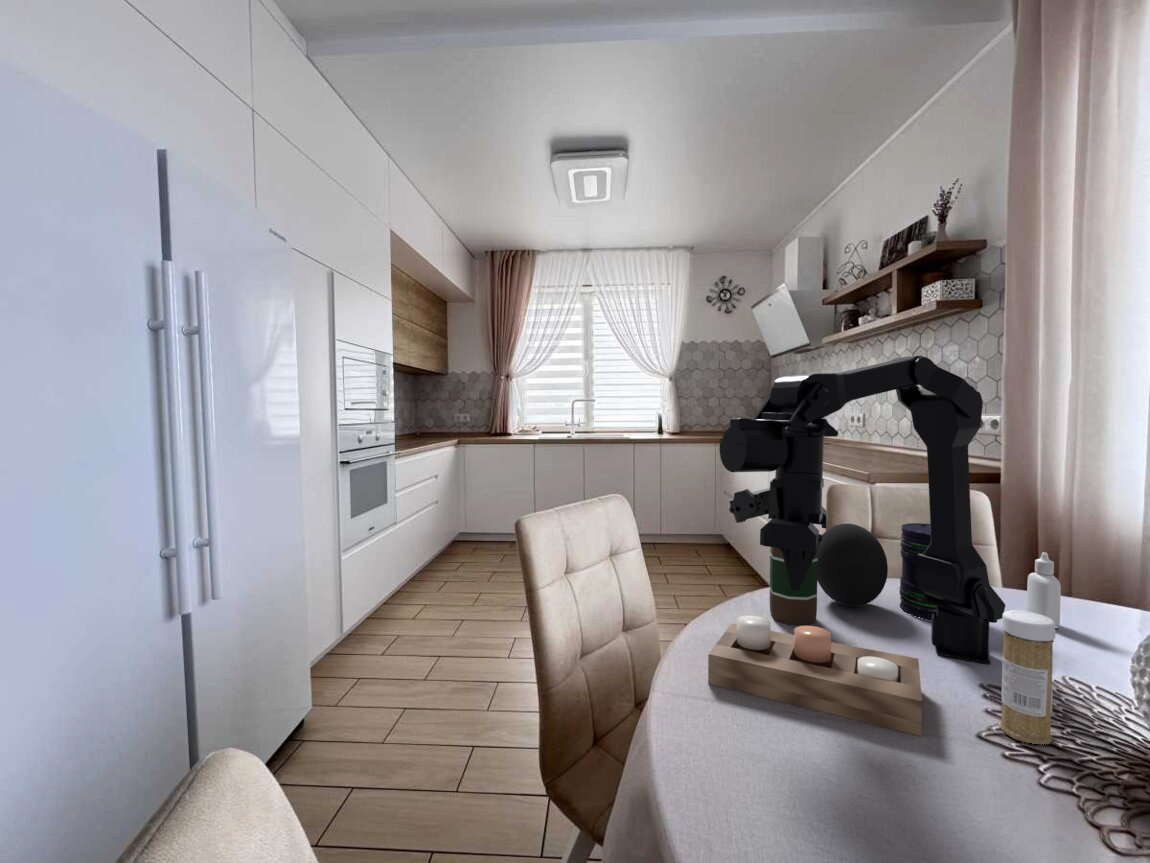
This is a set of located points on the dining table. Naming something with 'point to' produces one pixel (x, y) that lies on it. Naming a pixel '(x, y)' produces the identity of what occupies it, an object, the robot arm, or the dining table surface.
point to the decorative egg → (851, 565)
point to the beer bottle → (792, 593)
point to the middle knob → (812, 643)
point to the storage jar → (914, 570)
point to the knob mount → (821, 680)
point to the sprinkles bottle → (1027, 676)
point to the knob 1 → (753, 632)
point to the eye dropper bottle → (1044, 590)
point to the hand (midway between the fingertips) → (794, 589)
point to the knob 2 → (878, 668)
